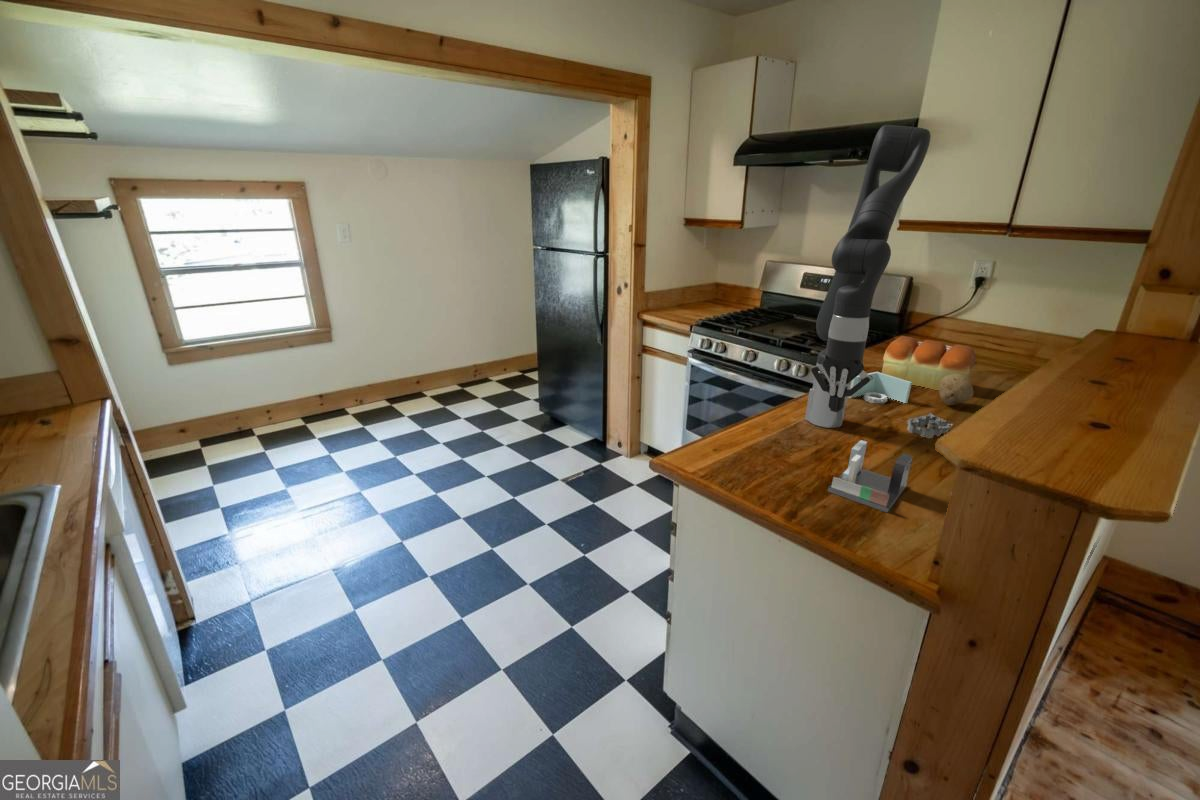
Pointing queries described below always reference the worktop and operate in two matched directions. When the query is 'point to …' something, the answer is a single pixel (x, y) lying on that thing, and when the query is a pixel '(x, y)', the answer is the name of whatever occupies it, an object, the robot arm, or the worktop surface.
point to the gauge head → (858, 450)
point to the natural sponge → (955, 389)
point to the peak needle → (853, 468)
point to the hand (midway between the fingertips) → (834, 410)
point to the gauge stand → (875, 485)
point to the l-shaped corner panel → (883, 388)
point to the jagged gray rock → (933, 428)
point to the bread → (926, 361)
